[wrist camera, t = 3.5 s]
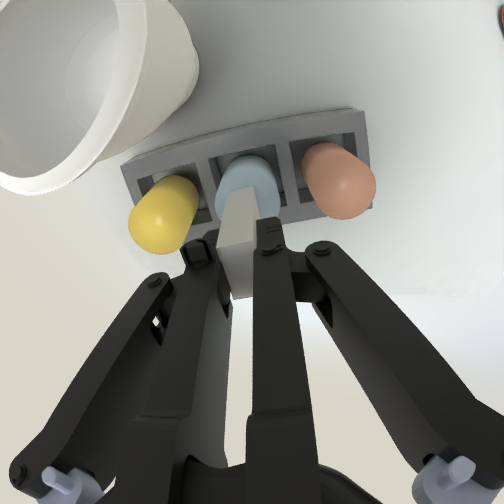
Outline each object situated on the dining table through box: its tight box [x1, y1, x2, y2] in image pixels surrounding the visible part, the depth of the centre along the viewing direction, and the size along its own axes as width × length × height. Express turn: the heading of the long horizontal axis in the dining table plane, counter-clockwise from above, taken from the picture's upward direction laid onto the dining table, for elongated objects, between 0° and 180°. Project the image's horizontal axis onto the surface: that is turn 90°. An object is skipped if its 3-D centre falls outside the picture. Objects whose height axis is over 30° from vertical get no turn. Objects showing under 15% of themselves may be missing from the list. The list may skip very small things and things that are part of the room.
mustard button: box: [128, 175, 199, 255], centre depth 20 cm, size 4×4×5 cm
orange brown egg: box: [301, 142, 376, 220], centre depth 18 cm, size 4×4×5 cm
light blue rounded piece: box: [215, 155, 280, 222], centre depth 19 cm, size 4×4×5 cm
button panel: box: [120, 108, 372, 245], centre depth 22 cm, size 8×19×3 cm, turn 103°
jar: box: [0, 0, 199, 195], centre depth 12 cm, size 11×10×15 cm
